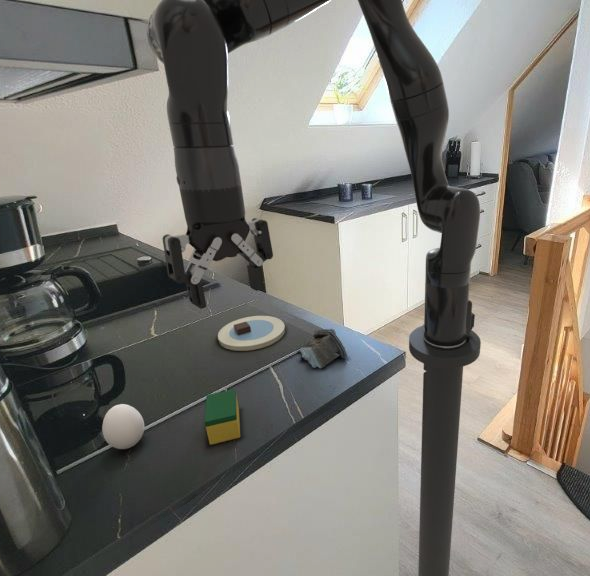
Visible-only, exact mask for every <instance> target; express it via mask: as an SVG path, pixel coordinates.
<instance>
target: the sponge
mask: <svg viewBox="0 0 590 576" xmlns="http://www.w3.org/2000/svg"><path fill="white" fill-rule="evenodd" d="M236 391H237V390H236V389H235V388H232V389H229V390H223V391H220V392H215V393H210V394H206V397H205V398H206V399H205V410H204V411H205V412H204V426H205V430H206V433H207V438H208V444H209V445H210V446H212V445H216V444H219V443H223V442H227V441H232V440H236V439H239V438H241V422H240V408H239V402H238V397H237V392H236Z"/></svg>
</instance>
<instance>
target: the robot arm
mask: <svg viewBox="0 0 590 576" xmlns="http://www.w3.org/2000/svg"><path fill="white" fill-rule="evenodd" d="M331 1H332V0H161V1H160V2H159V3H158V4H157V6H156V7H155V8H154V10H153V11H152V13H151V14H150V16H149V18H148V21H147V25H146V36H147V37H146V38H147V41H148V45H149V47H150V50H151V51H152V53H153V54H154V56H155V57H156V58H157V60H158V61H160V62H161V63H162V64H163V67H164V73H165V78H166V83H167V88H168V97H167V102H166V115H167V121H168V127H169V132H170V137H171V141H172V146H173V155H174V168H175V174H176V177H175V178H176V179H175V180H176V182H177V185H178V189H179V193H180V199H181V204H182V208H183V215H184V218H185V222H186V226H187V227H186V228H187V229H186V233H185V234H179V235H171V234H167V233H166V234H165V235H163V236H162V246H163V251H164V258H165V264H166V270H167V277H168V278H169V279H171V280H172V281H173V282H175V283H177V284H185V286H186V290H187V294H188V295H187V296H188V300H189V302H190V303H191V304H192V305H194V306H196V307H197V308H198V309H200V310H202V309H204V308H207V301H206V296H205V292H204V287H203V282H201V280H202V278H203V276H204V274H205V272H206V270H208V269H209V268H210V266H211V264H212V262H213V261H214V262H219V261H222V260H225V259H226V258H236V257H238V255H240V256H241V257H242V258H243V259H245V261H246V262H248V264H247V265H246V268H247V274H248V275H247V276H248V281H249V287H250V289H252V290H254V291H256V292H258V291H261V290H262V288H263V287H262V286H263V285H264V282H265V280H264V273H263V264H264V263H265V262H266V261H267V260H272V259H273V257H274V253H273V247H272V242H271V241H272V240H271V235H270V230H269V223H268V221H267V220H265V219H262V218H257V217H254V218H252V219H251V221H247V220H246V208H245V201H244V193H243V187H242V186H243V185H242V179H241V173H240V167H239V161H238V157H237V154H236V151H235V150H236V149H235V146H234V138H233V132H232V124H231V119H230V114H229V108H228V96H229V61H228V59H229V58H228V55H229V54H230V53H231V52H233V51H235V50H237V49H239V48H241V47H242V46H244V45H247V44H250V43H253V42H257V41H259V40H262V39H264V38H266V37H268V36H271V35H273V34H274V33H277V32H279V31H281V30H283V29H285V28H286V27H289V26H290V25H292V24H294V23H297V21H299V20H301V19H303V18H305V17H306V16H308V15H310V14H311V13H313V12H315V11H316V10H317V9H320V8H321V7H322V6H325V5H326V4H328V3H329V2H331ZM357 2H358V5H359V7H360V10H361V13H362V15H363V17H364V21H365V23H366V26H367V28H368V31H369V33H370V37H371V40H372V43H373V46H374V50H375V53H376V57H377V59H378V62H379V63H378V64H379V66H380V68H381V72H382V76H383V80H384V83H385V87H386V91H387V94H388V99H389V102H390V104H391V108H392V111H393V112H392V113H393V116H394V118H395V119H394V120H395V122H396V125H397V127H398V130H399V131H398V132H399V134H400V137H401V141H402V145H403V148H404V152H405V156H406V159H407V164H408V167H409V171H410V175H411V180H412V184H413V185H412V186H413V190H414V191H413V192H414V197H415V202H416V208H417V212H418V215H419V218H420V221H421V223H422V224H423V225H424V226H425V228H428V229H429V230H430V231H432V232H435V233H440V234H441V236H440V238H441V239H440V244H439V245H440V246H439V247H436V248H432V249H430V250H428V251H427V252H426V255H425V271H424V275H425V276H424V313H423V314H424V317H423V323H422V326H423V328H424V334H423V340H424V342H425V343H426V344H427V345H429V346H431V347H433V348H436V349H441V350H453V349H457V348H460V347H462V346H463V345H464V344H465V343H466V342H469V341H470V332H471V330H472V331H473V328H474V327H475V318H476V317H475V316H476V314H475V313H474V312H472V311H473V302H472V301H471V300H470V299H469V298H470V285H471V284H470V283H471V272H472V271H471V269H472V268H471V267H472V261H473V258H474V256H475V254H476V250H477V245H478V237H479V228H480V220H481V203H480V200H479V198H478V195H477V194H476V193H475V192H474V191H472V190H470V189H467V188H462V187H458V186H450V184H449V182H448V179H447V176H446V172H445V168H444V162H443V148H444V144H445V139H446V134H447V130H448V126H449V120H450V119H449V118H450V110H449V109H450V108H449V102H448V98H447V92H446V88H445V84H444V83H445V82H444V80H443V76H442V73H441V70H440V67H439V65H438V63H437V61H436V60H435V58H434V56H433V55H432V53H431V52H430V50H429V49H428V48H427V46H426V45H425V43H424V42H423V40H421V38H420V37H419V35H418V34H417V32H416V31H415V30H414V28H413V26H412V24H411V22H410V20H409V17H408V16H407V12H406V10H405V7H404V3H403V0H357ZM249 234H251V235H253V238H254V244H255V249H256V250H254V248H252V246H251V245H249V244H248V243H247V242H246V241H247V238H248V235H249ZM188 244H189V245H190V246H191V247H192V248H193V250H192V252H191V254H190V256H189V259H188V264H187V267H186V268H185V266H184V265H185V264H184V258H183V253H184V252H185V251H186V246H187V245H188Z"/></svg>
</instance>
